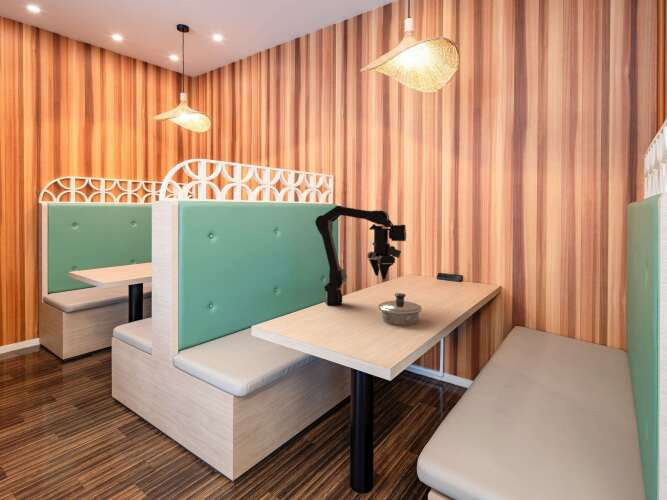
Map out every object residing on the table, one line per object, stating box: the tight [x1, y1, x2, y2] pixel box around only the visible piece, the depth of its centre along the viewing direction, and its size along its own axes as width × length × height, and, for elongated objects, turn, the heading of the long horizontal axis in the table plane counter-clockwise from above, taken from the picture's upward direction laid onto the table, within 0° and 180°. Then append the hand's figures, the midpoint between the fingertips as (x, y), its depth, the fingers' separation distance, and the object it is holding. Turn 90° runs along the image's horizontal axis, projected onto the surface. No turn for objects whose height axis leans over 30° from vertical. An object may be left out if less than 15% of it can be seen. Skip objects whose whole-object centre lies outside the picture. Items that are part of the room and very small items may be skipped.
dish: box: [381, 311, 420, 326], centre depth 141 cm, size 14×14×5 cm
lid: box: [377, 292, 422, 314], centre depth 141 cm, size 16×16×5 cm
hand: (380, 277), depth 158 cm, fingers open, 9 cm apart
